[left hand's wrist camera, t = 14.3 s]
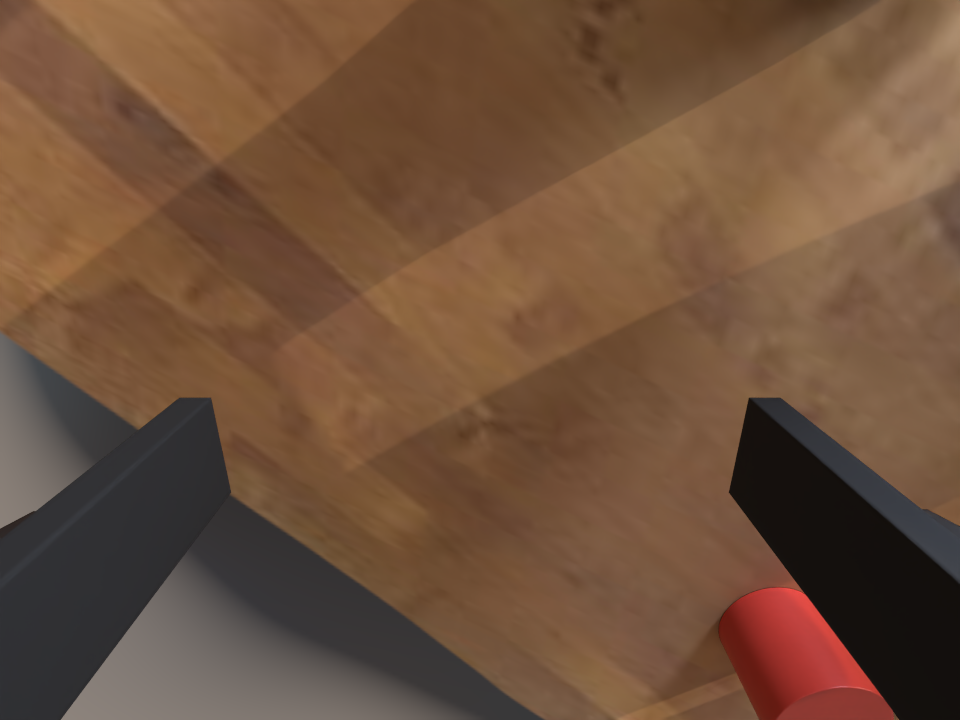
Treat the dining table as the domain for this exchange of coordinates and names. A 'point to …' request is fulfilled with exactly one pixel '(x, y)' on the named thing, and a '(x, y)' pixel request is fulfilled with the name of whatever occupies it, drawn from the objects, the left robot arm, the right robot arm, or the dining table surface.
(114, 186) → the dining table surface
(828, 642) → the can
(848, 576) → the left robot arm
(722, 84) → the dining table surface
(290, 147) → the dining table surface
